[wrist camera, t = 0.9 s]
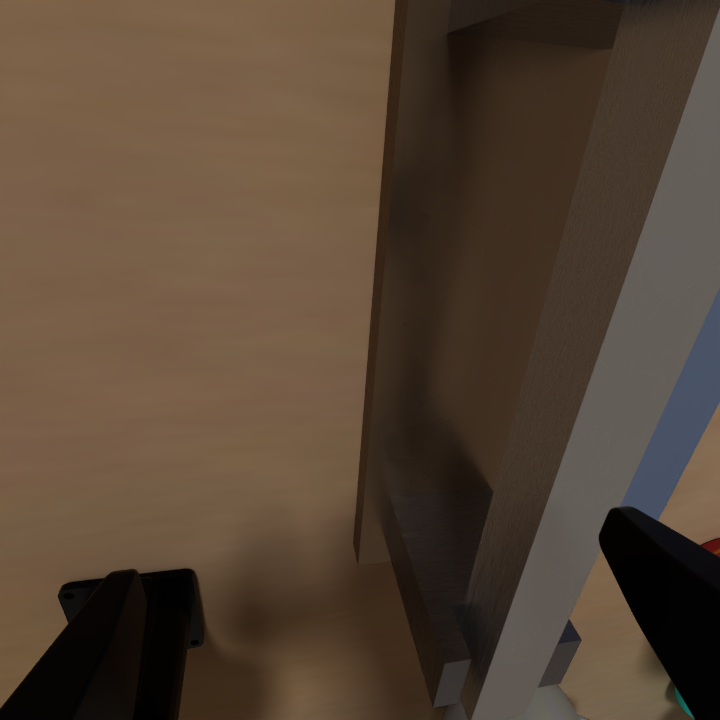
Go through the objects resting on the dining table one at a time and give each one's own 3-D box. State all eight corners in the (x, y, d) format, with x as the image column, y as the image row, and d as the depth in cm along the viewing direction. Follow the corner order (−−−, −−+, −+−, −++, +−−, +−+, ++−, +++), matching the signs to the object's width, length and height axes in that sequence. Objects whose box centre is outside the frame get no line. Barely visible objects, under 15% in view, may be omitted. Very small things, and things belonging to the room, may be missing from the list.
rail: (498, 652, 21) (525, 714, 19) (447, 661, 20) (469, 725, 18) (831, -281, 8) (1041, -420, 6) (711, -317, 7) (890, -482, 5)
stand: (483, 528, 28) (574, 703, 20) (353, 543, 27) (395, 739, 18) (661, -138, 14) (1206, -460, 6) (410, -189, 13) (684, -707, 4)
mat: (640, 535, 32) (646, 542, 31) (505, 552, 30) (509, 560, 29) (924, -28, 17) (944, -32, 17) (696, -65, 15) (711, -70, 15)
